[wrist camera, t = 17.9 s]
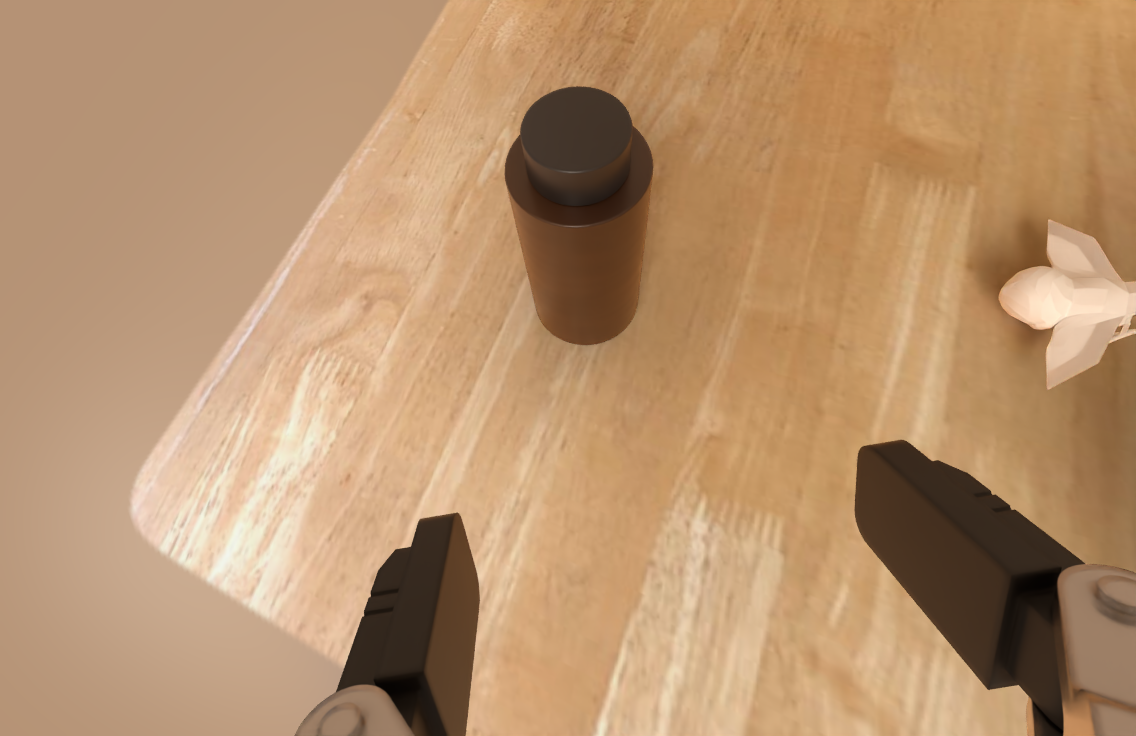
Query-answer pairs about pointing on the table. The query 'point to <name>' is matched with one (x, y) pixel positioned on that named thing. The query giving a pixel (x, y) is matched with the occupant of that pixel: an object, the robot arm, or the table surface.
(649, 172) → the pepper mill
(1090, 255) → the toy bird
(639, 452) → the table surface
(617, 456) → the table surface
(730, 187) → the table surface
